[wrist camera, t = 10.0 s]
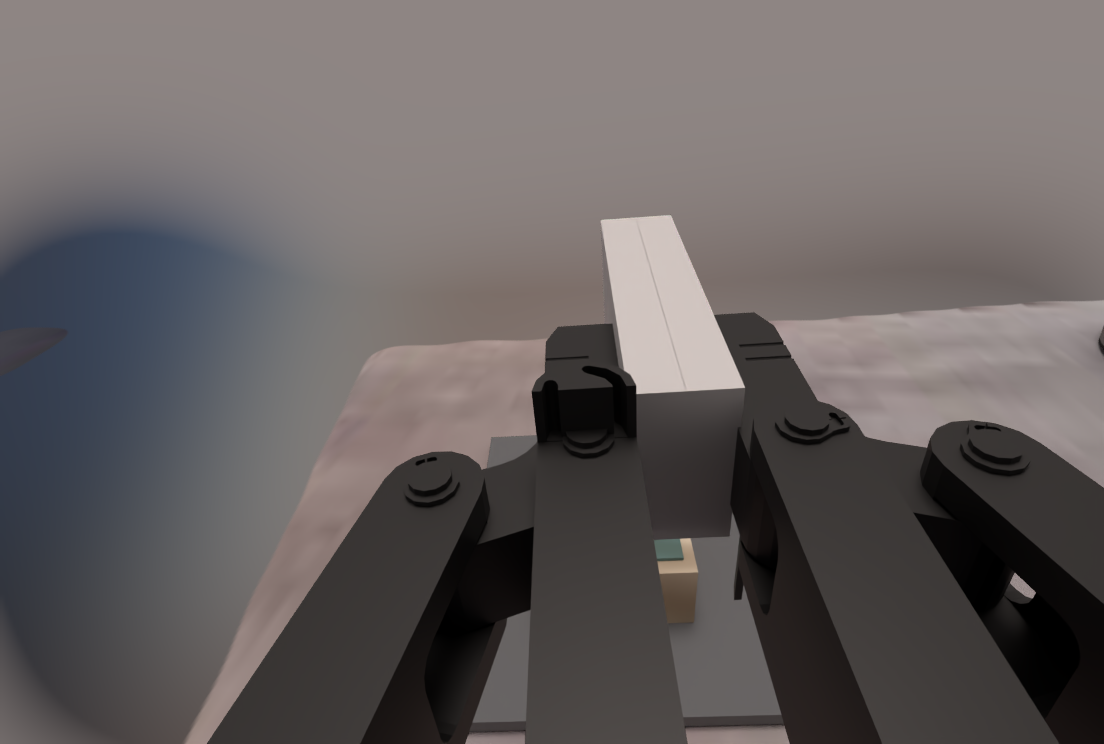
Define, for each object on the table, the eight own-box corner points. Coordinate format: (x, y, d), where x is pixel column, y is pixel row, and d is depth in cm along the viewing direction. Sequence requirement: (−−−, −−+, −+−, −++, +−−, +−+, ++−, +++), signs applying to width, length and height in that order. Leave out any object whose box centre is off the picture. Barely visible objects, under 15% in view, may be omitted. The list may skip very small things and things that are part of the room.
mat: (807, 723, 30) (809, 714, 30) (452, 732, 31) (449, 723, 31) (713, 435, 49) (714, 427, 48) (492, 445, 50) (491, 437, 49)
